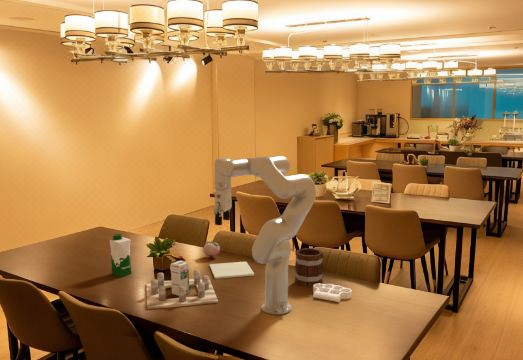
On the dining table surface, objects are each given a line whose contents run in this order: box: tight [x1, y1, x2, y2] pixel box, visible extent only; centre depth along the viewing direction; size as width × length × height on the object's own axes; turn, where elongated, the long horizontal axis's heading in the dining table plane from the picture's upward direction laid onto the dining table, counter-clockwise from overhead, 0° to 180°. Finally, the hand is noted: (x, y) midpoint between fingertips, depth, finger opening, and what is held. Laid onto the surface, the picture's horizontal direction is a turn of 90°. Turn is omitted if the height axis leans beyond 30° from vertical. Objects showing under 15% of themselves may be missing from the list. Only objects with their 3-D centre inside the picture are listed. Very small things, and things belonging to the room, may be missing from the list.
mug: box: [294, 247, 324, 288], centre depth 243 cm, size 20×14×15 cm
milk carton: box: [108, 233, 132, 278], centre depth 250 cm, size 9×9×20 cm
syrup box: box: [170, 260, 190, 297], centre depth 225 cm, size 6×6×14 cm
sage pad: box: [209, 261, 255, 280], centre depth 257 cm, size 20×20×1 cm
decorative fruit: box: [203, 240, 221, 259], centre depth 277 cm, size 9×8×10 cm
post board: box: [145, 269, 219, 310], centre depth 226 cm, size 30×30×7 cm
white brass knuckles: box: [312, 283, 353, 303], centre depth 224 cm, size 3×18×15 cm
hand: (222, 222), depth 226 cm, fingers open, 9 cm apart
